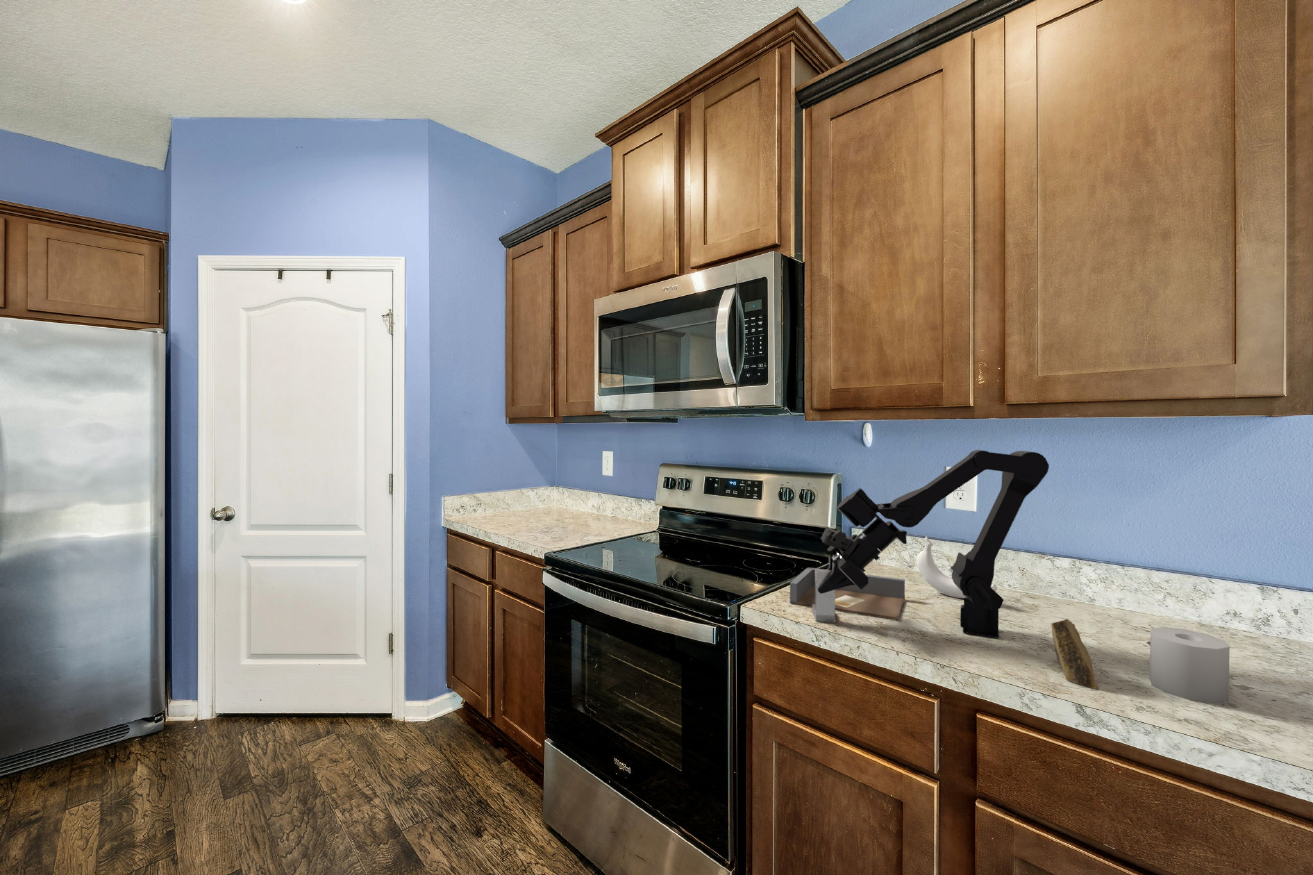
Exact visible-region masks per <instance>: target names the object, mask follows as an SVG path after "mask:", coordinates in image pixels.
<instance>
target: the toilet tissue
mask: <svg viewBox="0 0 1313 875" xmlns="http://www.w3.org/2000/svg"><path fill="white" fill-rule="evenodd" d="M1149 638H1150V640H1149V641H1146V643H1147V645H1149V650H1150V651H1149V680H1150V684H1151V686H1152V687H1154V688H1156V689H1158V690H1160V691H1161V692H1163V693H1165V694H1168V695H1171V696H1175V697H1177V698H1181V699H1183V700H1184V699H1185V700H1186V701H1187V700H1188V701H1191V702H1196V703H1197V702H1198V703H1206V704H1213V705H1216V704H1217V705H1218V704H1222V703H1226V702H1229V696H1230V695H1229V694H1230V691H1229V690H1230V687H1229V686H1230V651H1231V650H1230V649H1231V648H1230V645H1229V644H1228V643H1227V641H1226V640H1224V639H1221V638H1218V637H1216V636H1214V635H1211V634H1209V633H1204V632H1200V631H1194V630H1191V629H1186V628H1178V627H1177V628H1175V627H1166V626H1159V627H1154V628H1150V637H1149Z"/></svg>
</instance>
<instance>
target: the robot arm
mask: <svg viewBox="0 0 1313 875" xmlns="http://www.w3.org/2000/svg"><path fill="white" fill-rule="evenodd" d="M1049 469H1050V464H1049V462H1048V460H1047V458H1046V457H1045V456H1044V455H1042V454H1041V453H1039V452H1035V451H1028V450H1017V451H1014V452H1011V453H1009V454H1008V453H999V452H990V451H988V450H982V449H975V450H972V451H971V452H969V454H968V455H966V456H965V457H964V458H963V459H961V460H960V461H959V462H957V463H956V464H954V465H953V466H951V467H950V468H948V469H947V470H946V471H944V472H943V473H941V474H940V475H938V476H937V477H936V478H934V479H933V480H932V481H930V482H928V483H927V484H926V485H923V486H922V487H921V488H918V489H915V490H912V491H910V492H907V493H904V494H903V495H901V496H899V497H897V498H895V499H893V500H892V501H891V502H884V503H877V504H876V502H874V501H873V500H872V499H871V498H870V497H869V496H868V494H867V493H866V491H864V490H863V488H861V487H859V488H857V489H856V490H855V491H853V492H852V493H850V494H849V495H847V496H846V497H844V498H843V499H842V500H841V502H840V503H839V504H837V507H836V509H837V510H838V511H839V512H840V513H841V515H843V516H844V517H845V519H847V520H848V521H849V522H850V523H851V524H852V525H853V526H854V527H856V528H857V527H859V526H860V527H861V528H864V530H862V532H860V533H858V534H857V533H856V534H852V535H851V536H848V535H847V533H846V532H843V531H841V530H840V529H837V530H835V529H833V528H831V527H829V526H826V527H825V529H824V531H823V533H822V534H821V535H822V536H821V537H820V541H822V543H824V544H825V545H827V546H829V547H828V548H827V549H826V550H827V551H828V553H830V554H831V555H832V556H831V555H828V567H827V569H826V570H832V572H831V573H830V575H829V576H828V577H827V578H826V579H825V581H824V582H823V583H822V584H821V586H820V587H819V588H818V592H819V593H820V594H822V593H826V592H829V591H832V590H836V589H839V588H843V587H847V586H851V585H853V586H854V585H855V584H856V585H857V586H858V587H859V588H860V589H861V590H862V589H863V588H864V587H865V586H866V585H867V584H868V577H867V575H868V574H866V573H865V572H866V569H865V568H866V567H868V565H869V564H871V562H872V561H873V560H875V561H878V560H879V559H880V556H879V555H880V554H881V553H882V552H883V551H885V550H886V549H887V548H888V547H889V546H890V545H891V544H892V543H893V542H894V541H895V540H896V539H897V540H898V541H899V542H901V543H902V544H904V545H907V544H908V542H907V535H908V532H907V530H905V529H902V530H901V529H899V528H898V527H897V526H896V525H895V524H894V523H893V522H892V521H894V522H895V523H896V524H898V526H901V527H903V528H910V529H911V528H914V527H916V526H917V525H918V524H920V523H921V522H922V520H924V519H925V518H926V517H927V515H928V514H930V512H931V511H932V510H933V508H934V507H935V506H936V505H937V504H938V503H939V502H940V501H942V500H943V499H944V498H946V497H948V496H949V495H951V494H952V493H953V492H955V491H956V490H958V489H959V488H960V487H962V486H964V485H965V484H966V483H968V482H970V481H971V480H973V479H974V478H975V477H977V476H978V475H980V474H981V473H983V472H984V471H986V470H989V471H996V472H1002V473H1001V486H1000V490H999V492H998V493H997V494H998V495H997V497H996V499H995V500H994V503H993V505H992V507H991V509H990V511H989V513H988V516H987V517H986V519H985V521H984V524H983V526H982V528H981V530H980V532H979V534H978V536H977V539H976V540H975V543H974V545H973V547H972V548H971V549H970V551H968V552H967V553H966V554H963V553H962V552H958V553H957V555H956V558H955V562H954V564H952V565H951V567H950V570H951V571H952V572H951V578H952V580H953V582H954V584H955V585H956V586H957V587H958V588H959V589H960V590H961V591H962V593H963V595H964V596H966V598H963V604H960V618H959V619H960V628H962V633H963V634H967V635H968V634H970V635H976V636H982V637H989V638H993V639H994V638H995V639H1000V632H999V631H1000V630H999V620H1000V618H999V610H1000V609H1001V608H1002V606H1003V603H1004V598H1003V597H1002V596H1000V595H999V594H998V592H997V591H996V592H995V591H994V590H993V589H992V588H991V585H992V584H993V582H994V578H995V564H996V559H997V556H998V555H999V552H1000V551H1001V548H1002V546H1003V544H1004V542H1005V540H1006V538H1007V536H1008V533H1009V531H1010V529H1011V527H1012V525H1013V523H1014V521H1015V519H1016V516H1017V515H1018V514H1019V511H1020V508H1021V507H1022V505H1023V502H1024V501H1025V499H1026V497H1027V496H1029V494H1031V492H1033V491H1034V490H1035V489H1036V488H1037V487H1038V486H1039V485H1040V483H1041V482H1042V481H1043V479H1044V478H1045V477H1046V476H1047V474H1048V472H1049ZM877 513H879V514H880V515H881V516H882V517H883V518H884V519H887V520H888V521H884V519H882V517H880V515H878V514H877ZM865 527H866V528H865Z"/></svg>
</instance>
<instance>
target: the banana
mask: <svg viewBox="0 0 1313 875" xmlns="http://www.w3.org/2000/svg"><path fill="white" fill-rule="evenodd" d="M932 546H933V542H932V541H931V540H930V539H929V538H928V536H925V538H924V548H923V550H921V551H920V552H919V553H918V554H917V557H916V558H917V559H916V564H917V567H918V570H919V572H920V574H921V576H922V577H923V580H925V582H926V583H927V584H929V585H930V587H931V588H933V589H934V590H936V591H938V592H940V593H941V594H943V595H946V596H948V597H952V598H957V599H964V598H966V596H964V595H963V593H962V591H961V590H960V589H959V588H958V587H957V586H956V585H955V584H954V582H953V580H952V577H950V576H948V575H946V574H945V573H943V572H942V571H941V570H940V569H939V567H938V566H937V565H936V563H935V560H934V557H933V554H932ZM991 588H992V589H993V590H994V591H995V592H996V593H997V590H998V587H997V585H996V583H992V585H991Z"/></svg>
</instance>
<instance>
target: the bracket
mask: <svg viewBox="0 0 1313 875" xmlns="http://www.w3.org/2000/svg"><path fill="white" fill-rule="evenodd" d="M818 569H819V568H816V569H815V605H813V604H812V607H811V611H813V612H812V614H814V615H813V618H814V619H815V622H817V623H818V622H819V623H821V622H822V623H836V611H835V590H832V591H829V592H826V593H822V594H820V593H819V592H818V588H819V587H820V586H821V584H822V583H823V582H824V581H825V579H826V578H827V577H828V576H829V575H830V573H831V572H832V570H827V569H824V570H818Z"/></svg>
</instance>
